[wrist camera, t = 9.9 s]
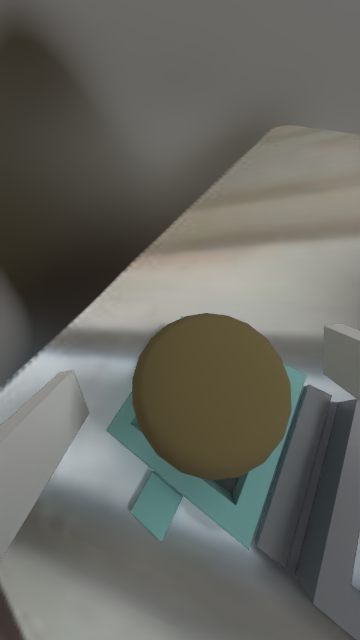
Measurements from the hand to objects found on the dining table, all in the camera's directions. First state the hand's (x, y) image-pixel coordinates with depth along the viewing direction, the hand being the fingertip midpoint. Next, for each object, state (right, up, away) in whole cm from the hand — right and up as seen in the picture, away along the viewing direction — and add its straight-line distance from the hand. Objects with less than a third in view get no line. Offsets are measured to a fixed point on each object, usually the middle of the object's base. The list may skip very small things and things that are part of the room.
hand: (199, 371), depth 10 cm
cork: (+1, -4, +5) cm, 6 cm away
